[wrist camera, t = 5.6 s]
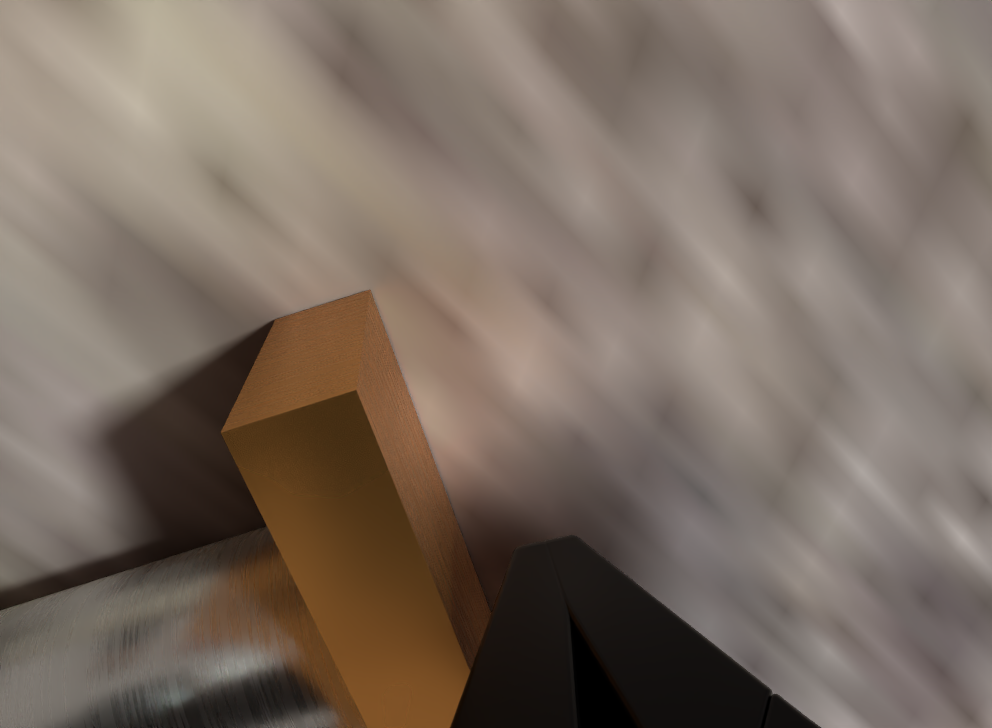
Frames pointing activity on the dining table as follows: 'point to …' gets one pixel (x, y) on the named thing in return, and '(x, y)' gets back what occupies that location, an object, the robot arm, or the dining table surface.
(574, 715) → the robot arm
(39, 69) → the dining table surface
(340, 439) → the pin
